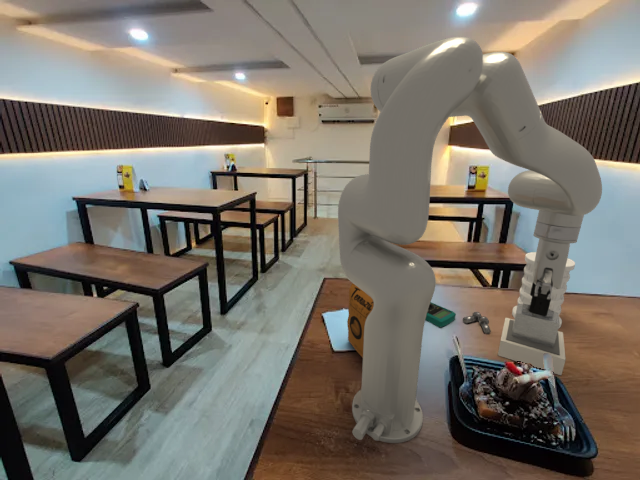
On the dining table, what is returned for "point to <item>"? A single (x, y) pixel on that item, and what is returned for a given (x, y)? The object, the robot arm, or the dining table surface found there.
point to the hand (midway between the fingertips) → (537, 305)
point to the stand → (531, 349)
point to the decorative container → (556, 294)
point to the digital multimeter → (439, 315)
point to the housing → (535, 326)
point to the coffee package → (358, 316)
